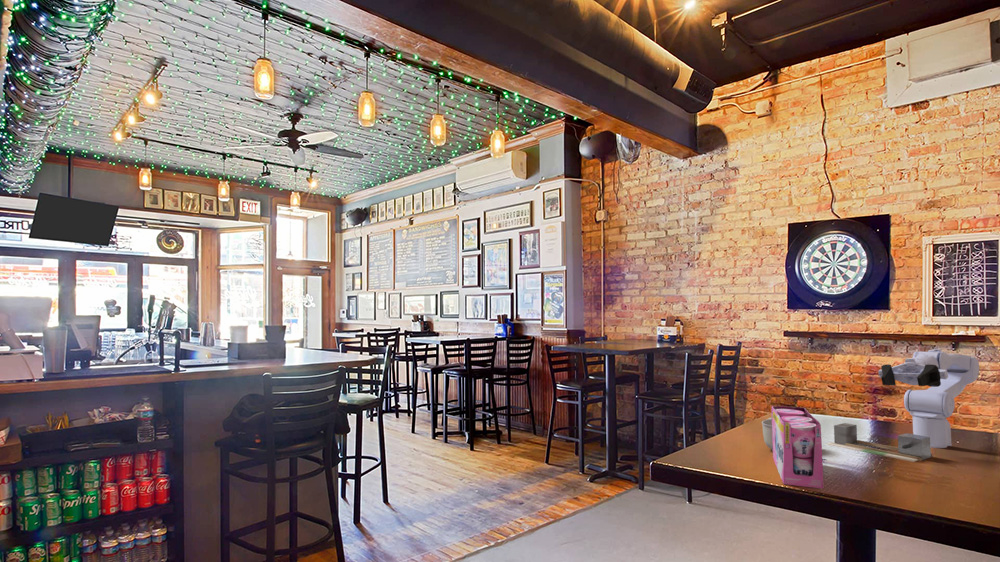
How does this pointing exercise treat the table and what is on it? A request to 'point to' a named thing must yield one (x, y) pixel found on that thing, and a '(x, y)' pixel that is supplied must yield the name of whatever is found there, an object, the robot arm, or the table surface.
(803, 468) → the gum box
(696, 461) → the table surface
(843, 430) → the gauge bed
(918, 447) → the gauge carriage
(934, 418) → the robot arm
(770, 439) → the teacup
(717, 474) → the table surface
